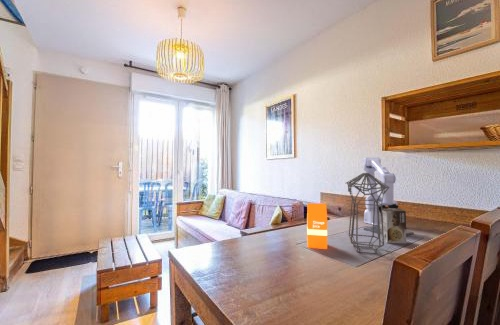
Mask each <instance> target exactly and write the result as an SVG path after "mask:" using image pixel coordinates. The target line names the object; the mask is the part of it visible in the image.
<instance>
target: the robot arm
mask: <svg viewBox="0 0 500 325" xmlns="http://www.w3.org/2000/svg"><path fill="white" fill-rule="evenodd" d="M381 163H382V161H381V158H380V157H378V156H377V157H376V156H375V157H372V156H371V157H368V156H367V157H365V156H364V157H363V159H362V168H363V171H364V172H365V173H369V174H371V175H372V176H374V177H375V178H376V176H375V172H376V174H377V175H378V176H379V180H380V181H381V182H382V184H383V183H384V184H385V186H386V185H387V186H388V187H390V188H389V189H388V190H387V191H386V193H385V194H384V196H383V194H381V196H380V198H379V200H378V202H379V203H380V204H381V203H382V209H399V205H398V200H395V199H394V197H395V196H394V194H395V193H394V189H395V188H394V184H396V180H397V178H396V175H395V173H392V172H390V171H389V170H388V169H387V168H386V167H385V166H383V165H382V164H381ZM368 177H369V176H368ZM369 180H370V183H371V184H373V183H375V182H376V181H375V180H374V179H373V180H374V181H375V182H374V181H373V180H372V179H371V178H370V177H369ZM380 181H379V182H380ZM368 182H369V181H368ZM376 183H377V182H376ZM384 184H383V185H384ZM375 185H376V184H375ZM371 186H372V187H373V186H374V185H371ZM387 186H386V187H387ZM368 188H371V187H370V185H369V186H368ZM373 188H377V185H376V186H375V187H373ZM382 189H383V188H382ZM386 189H387V188H386ZM386 189H385V190H386ZM371 190H372V193H374V192H376V191H378V189H371ZM371 190H369V192H370V193H371ZM369 192H368V194H370V193H369ZM383 193H384V190H383ZM379 195H380V194H378V192H377V193H375V194H373V196H374V198H375V200H376V201H377V199H378V197H379ZM382 197H383V202H382ZM364 200H374V199H373V197H372V196H371V195H367V196H366V197H365V199H364ZM375 200H374V201H375ZM374 201H364V204H373V205H364V206H365V208H366V209H365V210H364V213H363V223H365V224H369V225H373V209H374ZM379 203H378V205H380V204H379ZM375 205H377V204H376V202H375ZM379 221H380V224H382V221H381V206H379ZM374 226H378V222H377V206H375V217H374Z"/></svg>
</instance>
